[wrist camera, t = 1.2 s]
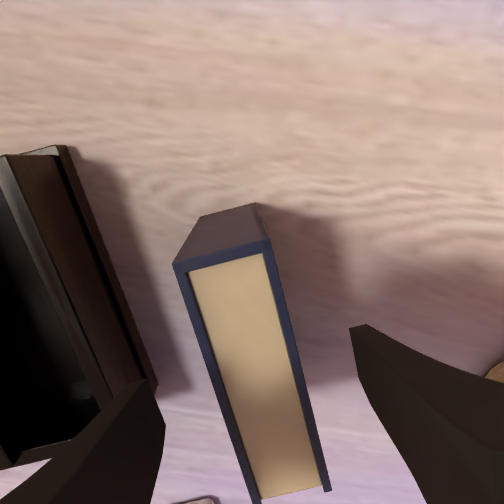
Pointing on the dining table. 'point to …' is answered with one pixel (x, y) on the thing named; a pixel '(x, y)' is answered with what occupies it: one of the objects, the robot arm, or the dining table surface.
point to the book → (251, 351)
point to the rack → (57, 311)
